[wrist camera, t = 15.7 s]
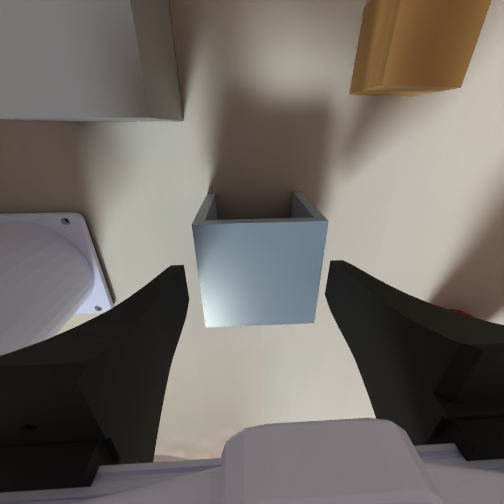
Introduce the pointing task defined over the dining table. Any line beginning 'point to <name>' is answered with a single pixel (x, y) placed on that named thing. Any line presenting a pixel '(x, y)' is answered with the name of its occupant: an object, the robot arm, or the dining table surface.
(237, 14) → the dining table surface
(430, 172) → the dining table surface
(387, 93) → the cube
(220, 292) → the cover
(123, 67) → the cover
